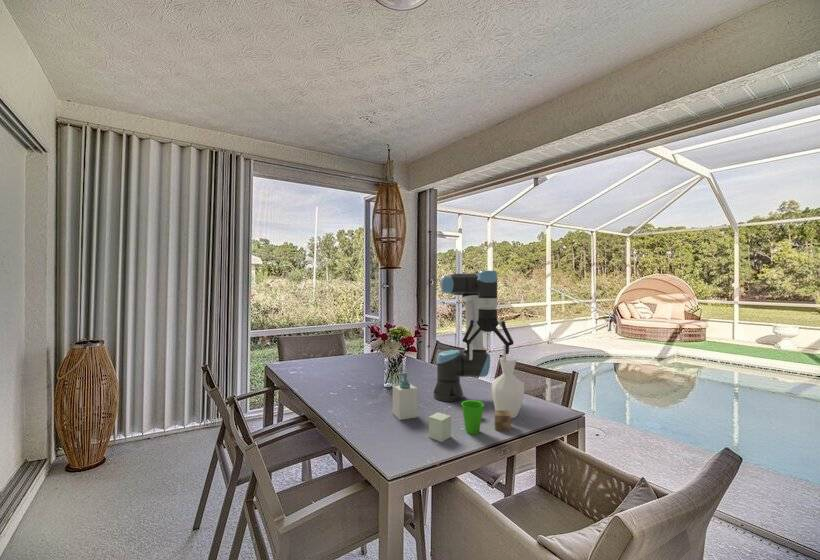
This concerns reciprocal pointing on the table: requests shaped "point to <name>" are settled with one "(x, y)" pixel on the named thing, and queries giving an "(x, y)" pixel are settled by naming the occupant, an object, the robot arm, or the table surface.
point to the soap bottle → (405, 399)
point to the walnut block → (502, 420)
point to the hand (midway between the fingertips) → (487, 360)
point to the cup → (472, 415)
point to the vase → (508, 389)
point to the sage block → (439, 426)
